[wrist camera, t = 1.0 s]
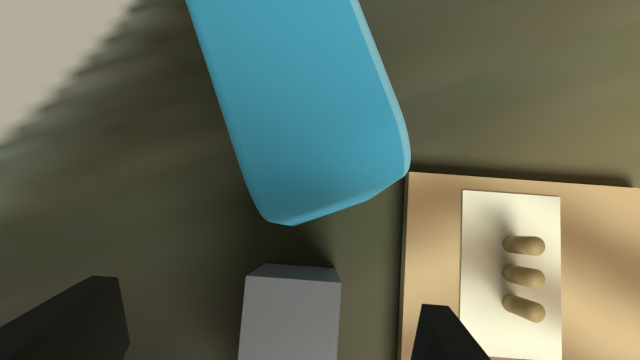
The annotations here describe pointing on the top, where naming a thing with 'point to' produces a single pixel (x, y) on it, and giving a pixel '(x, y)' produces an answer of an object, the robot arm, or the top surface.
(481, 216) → the board
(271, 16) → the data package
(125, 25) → the top surface
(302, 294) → the block
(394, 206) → the top surface
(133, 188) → the top surface
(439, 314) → the robot arm
